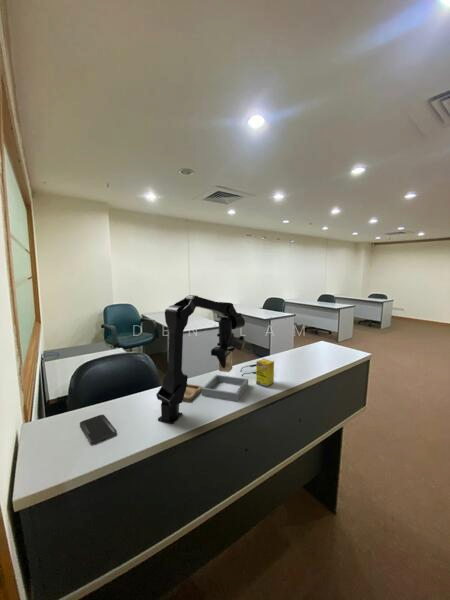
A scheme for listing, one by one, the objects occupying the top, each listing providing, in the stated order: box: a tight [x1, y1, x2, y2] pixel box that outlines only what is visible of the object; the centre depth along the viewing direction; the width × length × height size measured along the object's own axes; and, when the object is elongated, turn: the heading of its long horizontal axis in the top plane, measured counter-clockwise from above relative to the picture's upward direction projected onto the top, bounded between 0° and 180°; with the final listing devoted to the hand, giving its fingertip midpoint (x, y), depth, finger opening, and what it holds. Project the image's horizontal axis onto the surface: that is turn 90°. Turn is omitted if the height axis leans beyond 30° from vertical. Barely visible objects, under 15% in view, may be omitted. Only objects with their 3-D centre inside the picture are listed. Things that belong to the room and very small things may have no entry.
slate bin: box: [201, 374, 249, 402], centre depth 109 cm, size 16×16×3 cm
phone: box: [79, 414, 117, 446], centre depth 82 cm, size 8×1×15 cm
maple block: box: [218, 351, 233, 373], centre depth 108 cm, size 4×4×8 cm
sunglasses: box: [240, 363, 256, 377], centre depth 128 cm, size 10×12×5 cm
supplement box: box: [255, 358, 275, 389], centre depth 115 cm, size 6×6×11 cm
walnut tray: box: [183, 383, 203, 403], centre depth 107 cm, size 12×12×2 cm
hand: (225, 366), depth 109 cm, fingers closed on maple block, 4 cm apart
